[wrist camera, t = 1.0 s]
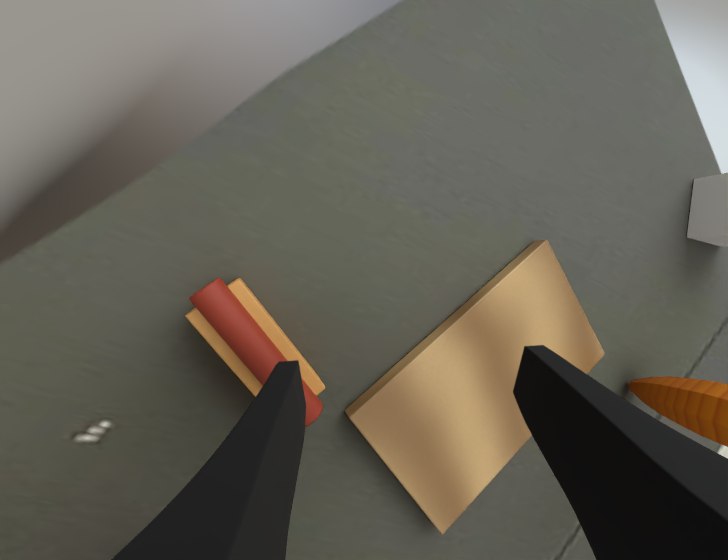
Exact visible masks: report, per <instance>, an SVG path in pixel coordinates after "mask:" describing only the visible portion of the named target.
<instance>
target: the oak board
mask: <svg viewBox="0 0 728 560" xmlns="http://www.w3.org/2000/svg"><path fill="white" fill-rule="evenodd" d="M535 345H544V346H546V347H547V348H549V349H550V350H552V351H553V352H555V353H556V354H558V355H559V356H561V357H562V358H564V359H565V360H567V361H568V362H570V363H571V364H573V365H574V366H575V367H577V368H578V369H580V370H581V371H583V372H584V373H586V374H587V373H588V372H589V371H590V370H591V369H592V368H593V367H594V366H595V365H596V363H597V362H598V361H599V360H600V359H601V358H602V357H603V356H604V354H605V353H604V351H603V349H602V347H601V345H600V343H599V341H598V339H597V337H596V335H595V333H594V332H593V330H592V328H591V326H590V324H589V322H588V320H587V318H586V316H585V314H584V312H583V310H582V308H581V306H580V304H579V302H578V300H577V298H576V296H575V294H574V292H573V290H572V288H571V286H570V284H569V282H568V280H567V278H566V276H565V274H564V272H563V270H562V268H561V266H560V264H559V262H558V260H557V258H556V256H555V254H554V253H553V251H552V249H551V247H550V245H549V243H548V241H547V240H538V241H534V242H533V243H532V244H531V245H530V246H528V247H527V248H526V249H525V250H524V251H523V252H522V253H521V254H519V255H518V256H517V257H516V258H515V259H514V260H513V261H512V262H511V263H509V264H508V265H507V266H506V267H505V268H504V269H503V270H502V271H500V272H499V273H498V274H497V275H496V276H495V277H494V278H493V279H491V280H490V281H489V282H488V283H487V284H486V285H485V286H484V287H482V288H481V289H480V290H479V291H478V292H477V293H476V294H475V295H473V296H472V297H471V298H470V299H469V300H468V301H467V302H466V303H464V304H463V305H462V306H461V307H460V308H459V309H458V310H457V311H455V312H454V313H453V314H452V315H451V316H450V317H449V318H448V319H446V320H445V321H444V322H443V323H442V324H441V325H440V326H439V327H437V328H436V329H435V330H434V331H433V332H432V333H431V334H430V335H428V336H427V337H426V338H425V339H424V340H423V341H422V342H421V343H419V344H418V345H417V346H416V347H415V348H414V349H413V350H412V351H410V352H409V353H408V354H407V355H406V356H405V357H404V358H403V359H401V360H400V361H399V362H398V363H397V364H396V365H395V366H394V367H392V368H391V369H390V370H389V371H388V372H387V373H386V374H385V375H384V376H382V377H381V378H380V379H379V380H378V381H377V382H376V383H375V384H373V385H372V386H371V387H370V388H369V389H368V390H367V391H366V392H364V393H363V394H362V395H361V396H360V397H359V398H358V399H357V400H355V401H354V402H353V403H352V404H351V405H350V406H349V407H348V408H346V409H345V413H346V414H347V416H348V417H349V419H350V420H351V421H352V422H353V424H354V425H355V426H356V428H357V429H358V430H359V431H360V433H361V434H362V435H363V436H364V438H365V439H366V440H367V441H368V443H369V444H370V445H371V446H372V448H373V449H374V450H375V451H376V453H377V454H378V455H379V456H380V458H381V459H382V460H383V461H384V463H385V464H386V465H387V466H388V468H389V469H390V470H391V471H392V473H393V474H394V475H395V476H396V478H397V479H398V480H399V481H400V483H401V484H402V485H403V486H404V488H405V489H406V490H407V491H408V493H409V494H410V495H411V496H412V498H413V499H414V500H415V501H416V503H417V504H418V505H419V506H420V508H421V509H422V510H423V512H424V513H425V514H426V515H427V517H428V518H429V519H430V520H431V522H432V523H433V524H434V525H435V527H436V528H437V529H438V530H439V532H440V533H441V534H444V532H445V531H446V530H447V529H448V528H449V527H450V526H451V525H452V524H453V522H454V521H455V520H456V519H457V518H458V517H459V516H460V515H461V514H462V512H463V511H464V510H465V509H466V508H467V507H468V506H469V505H470V504H471V502H472V501H473V500H474V499H475V498H476V497H477V496H478V495H479V494H480V492H481V491H482V490H483V489H484V488H485V487H486V486H487V485H488V484H489V482H490V481H491V480H492V479H493V478H494V477H495V476H496V475H497V474H498V472H499V471H500V470H501V469H502V468H503V467H504V466H505V465H506V464H507V462H508V461H509V460H510V459H511V458H512V457H513V456H514V455H515V454H516V452H517V451H518V450H519V449H520V448H521V447H522V446H523V445H524V443H525V442H526V441H527V440H528V439H529V438H530V437H531V436H532V434H531V432H530V430H529V429H528V427H527V425H526V423H525V421H524V419H523V416H522V414H521V412H520V409H519V407H518V404H517V402H516V399H515V397H514V394H513V389H514V385H515V381H516V377H517V373H518V369H519V365H520V361H521V358H522V354H523V350H524V346H535Z"/></svg>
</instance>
